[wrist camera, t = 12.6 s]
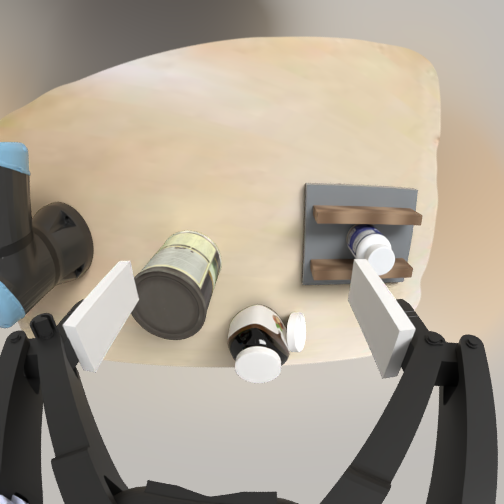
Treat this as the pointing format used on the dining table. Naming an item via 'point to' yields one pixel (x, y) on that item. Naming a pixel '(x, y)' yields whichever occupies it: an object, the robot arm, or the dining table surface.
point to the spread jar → (264, 342)
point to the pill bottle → (371, 247)
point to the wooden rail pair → (360, 215)
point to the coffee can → (177, 286)
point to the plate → (334, 235)
